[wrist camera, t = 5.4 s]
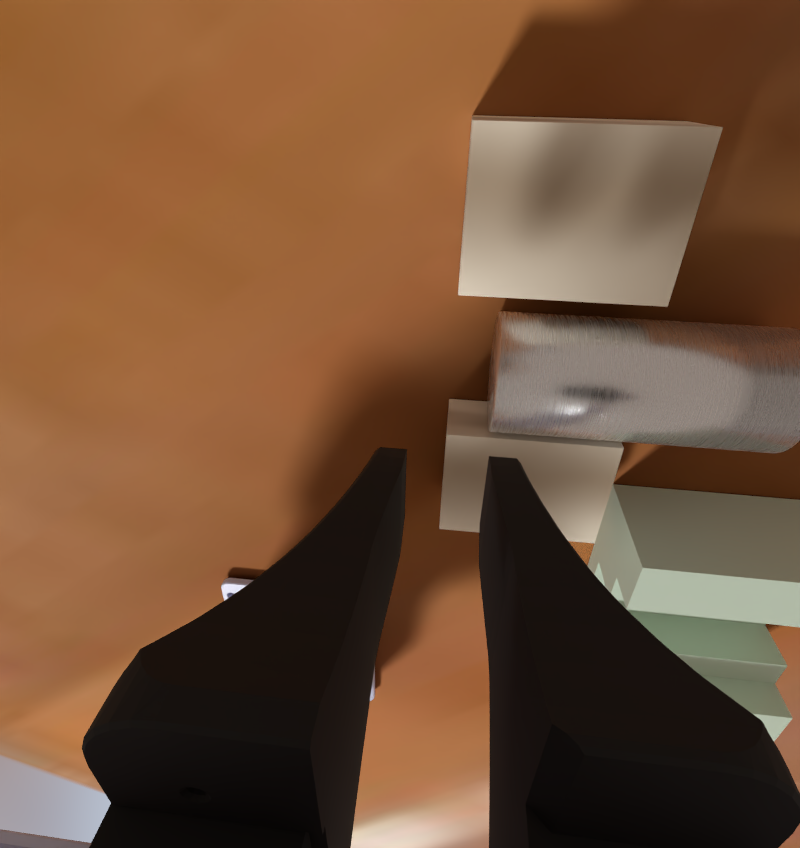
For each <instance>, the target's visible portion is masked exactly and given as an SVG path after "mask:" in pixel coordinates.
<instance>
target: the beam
mask: <svg viewBox="0 0 800 848" xmlns="http://www.w3.org/2000/svg"><path fill="white" fill-rule="evenodd" d="M722 129H723V127H719V126H713V125H707V124H701V123H695V122H689V121H664V120H628V119H592V118H555V117H519V116H483V115H472V123H471V135H470V147H469V160H468V172H467V184H466V197H465V209H464V221H463V234H462V246H461V259H460V271H459V289H458V295H465V296H483V297H501V298H519V299H537V300H555V301H573V302H591V303H608V304H626V305H644V306H662V307H668V304H669V301H670V298H671V294H672V291H673V288H674V285H675V281H676V278H677V275H678V272H679V268H680V265H681V262H682V259H683V256H684V252H685V249H686V246H687V243H688V239H689V236H690V233H691V230H692V226H693V223H694V220H695V217H696V213H697V210H698V207H699V204H700V200H701V197H702V194H703V191H704V187H705V184H706V181H707V178H708V175H709V171H710V168H711V165H712V162H713V158H714V155H715V152H716V149H717V145H718V142H719V139H720V136H721V132H722ZM623 450H624V447H623V445H622V443H621V442H618V441H605V440H592V439H579V438H565V437H552V436H539V435H526V434H513V433H500V432H489V431H488V426H487V401H474V400H460V399H449V407H448V419H447V432H446V444H445V456H444V469H443V481H442V494H441V509H440V523H439V529H446V530H457V531H468V532H478V533H479V529H480V517H481V510H482V503H483V495H484V488H485V481H486V474H487V467H488V459H489V456H494V457H507V458H517V459H518V460H519V462H520V463H521V465H522V467H523V469H524V471H525V473H526V475H527V477H528V478H529V480H530V482H531V484H532V486H533V488H534V489H535V491H536V493H537V494H538V496H539V498H540V500H541V501H542V503H543V504H544V506H545V508H546V509H547V511H548V512H549V514H550V515H551V517H552V518H553V520H554V521H555V523H556V524H557V526H558V528H559V529H560V530H561V532H562V533H563V535H564V536H565V538H566V539H567V540H568V541H575V542H586V543H595V541H596V537H597V534H598V531H599V528H600V524H601V521H602V518H603V515H604V512H605V508H606V505H607V502H608V499H609V495H610V492H611V489H612V486H613V482H614V479H615V476H616V473H617V469H618V466H619V463H620V460H621V456H622V453H623Z"/></svg>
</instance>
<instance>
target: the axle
mask: <svg viewBox="0 0 800 848" xmlns="http://www.w3.org/2000/svg"><path fill="white" fill-rule="evenodd" d="M487 426H488V431H489V432H500V433H513V434H526V435H539V436H552V437H565V438H579V439H592V440H605V441H618V442H631V443H644V444H657V445H670V446H684V447H697V448H710V449H723V450H736V451H749V452H762V453H781V452H784V451H786V450H788V449H790V448H792V447H793V446H794V445H796V444H797V443H798V442H799V441H800V330H799V329H796V328H787V327H769V326H752V325H734V324H717V323H699V322H682V321H664V320H646V319H629V318H611V317H594V316H576V315H559V314H541V313H524V312H506V311H499V312H498V314H497V318H496V322H495V328H494V335H493V343H492V351H491V360H490V368H489V380H488V397H487Z"/></svg>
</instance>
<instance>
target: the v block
mask: <svg viewBox="0 0 800 848" xmlns="http://www.w3.org/2000/svg"><path fill="white" fill-rule="evenodd" d="M588 568H589V569H590V570H591V571H592V572H593V574H594V575H595V576H596V577H597V578H598V579H599V580H600V582H601V583H602V584H603V585H604V586H605V587H606V588H607V589H608V591H609V592H610V593H611V594H612V595H613V596H614V597H615V598H616V599H617V600H618V601H619V602H620V603H621V604H622V605H623V606H624V608H625V609H627V610H628V611H629V612H630V613H631V614H632V615H633V616H634V617H635V618H636V619H637V620H638V621H639V622H640V623H641V624H642V625H643V626H644V627H646V628H647V629H648V630H649V631H650V632H651V633H652V634H653V635H654V636H655V637H656V638H657V639H658V640H659V641H661V642H662V643H663V644H664V645H665V646H666V647H667V648H669V649H670V650H671V651H672V652H673V653H675V654H676V655H677V656H678V657H679V658H681V659H682V660H683V661H684V662H685V663H687V664H688V665H689V666H690V667H691V668H693V669H694V670H695V671H696V672H697V673H699V674H700V675H701V676H702V677H704V678H705V679H706V680H708V681H709V682H710V683H712V684H713V685H714V686H716V687H717V688H718V689H720V690H721V691H722V692H724V693H725V694H726V695H728V696H729V697H731V698H732V699H733V700H735V701H736V702H737V703H739V704H740V705H741V706H743V707H744V708H745V709H747V710H748V711H749V712H751V713H752V714H753V715H755V716H756V717H757V718H759V719H760V720H762V722H763V723H764V725H765V727H766V729H767V731H768V733H769V735H770V736H771V738H772V740H773V741H775V740H776V738H777V737H778V736H779V735H780V733H781V732H782V731H783V730H784V728H785V727H786V726H787V725H788V723H789V722H790V721H791V720H792V716H791V714H790V712H789V710H788V708H787V706H786V704H785V702H784V700H783V698H782V697H781V695H780V693H779V691H778V689H777V687H776V685H775V683H776V681H777V680H778V678H779V677H780V676H781V674H782V673H783V671H784V670H785V669H786V667H787V664H786V662H785V660H784V659H783V657H782V655H781V653H780V651H779V649H778V648H777V646H776V644H775V642H774V640H773V638H772V637H771V635H770V633H769V631H768V629H767V627H766V626H765V625H766V624H773V625H783V626H793V627H800V500H796V499H784V498H772V497H760V496H748V495H736V494H724V493H712V492H700V491H688V490H676V489H664V488H652V487H640V486H628V485H616V484H613V486H612V489H611V492H610V495H609V499H608V502H607V505H606V508H605V512H604V515H603V518H602V521H601V524H600V528H599V531H598V534H597V537H596V541H595V544H594V547H593V550H592V553H591V557H590V560H589V563H588Z"/></svg>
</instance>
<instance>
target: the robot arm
mask: <svg viewBox="0 0 800 848" xmlns="http://www.w3.org/2000/svg"><path fill="white" fill-rule="evenodd" d="M406 459H407V449H395V448H383V447H380V448H379V449H377V450H376V451H375V452H374V454H373V456H372V457H371V459H370V460H369V462H368V464H367V465H366V466H365V468H364V469H363V471H362V472H361V473H360V475H359V476H358V478H357V479H356V480H355V482H354V483H353V484H352V485H351V487H350V488H349V489H348V490H347V492H346V493H345V494H344V495H343V496H342V498H341V499H340V500H339V501H338V503H337V504H336V505H335V506H334V507H333V508H332V509H331V510H330V511H329V513H328V514H327V515H326V516H325V517H324V518H323V519H322V520H321V521H320V522H319V523H318V524H317V525H316V526H315V528H314V529H313V530H312V531H311V532H310V533H309V534H308V535H306V536H305V537H304V538H303V539H302V540H301V541H300V542H299V543H298V544H297V545H296V546H295V547H294V548H293V549H291V550H290V551H289V552H288V553H287V554H286V555H285V556H283V557H282V558H281V559H280V560H279V561H277V562H276V563H275V564H274V565H272V566H271V567H270V568H269V569H268V570H266V571H265V572H264V573H263V574H261V575H260V576H259V577H257V578H256V579H255V580H249V579H239V578H226V579H225V580H224V581H223V583H222V585H221V589H222V593H223V597H224V601H223V602H222V603H220V604H219V605H217V606H216V607H214V608H213V609H211V610H210V611H208V612H206V613H205V614H203V615H202V616H200V617H198V618H197V619H195V620H193V621H191V622H190V623H188V624H186V625H184V626H182V627H181V628H179V629H177V630H175V631H173V632H171V633H170V634H168V635H166V636H164V637H162V638H160V639H159V640H157V641H155V642H153V643H151V644H149V645H147V646H145V647H143V648H141V649H140V650H139V652H138V653H137V655H136V656H135V658H134V659H133V661H132V662H131V663H130V664H129V666H128V667H127V668H126V670H125V671H124V672H123V674H122V675H121V677H120V678H119V680H118V681H117V683H116V684H115V686H114V687H113V689H112V691H111V692H110V694H109V696H108V697H107V699H106V701H105V702H104V704H103V706H102V708H101V709H100V711H99V713H98V714H97V716H96V718H95V719H94V721H93V723H92V724H91V726H90V728H89V730H88V731H87V733H86V735H85V736H84V740H83V745H82V750H83V754H84V757H85V759H86V762H87V764H88V767H89V768H90V770H91V771H92V773H93V775H94V776H95V778H96V779H97V781H98V783H99V784H100V786H101V787H102V789H103V791H104V792H105V794H106V795H107V797H108V799H109V800H110V802H111V805H110V807H109V809H108V811H107V813H106V815H105V817H104V819H103V821H102V823H101V825H100V827H99V829H98V831H97V833H96V835H95V837H94V839H93V841H92V843H87V842H80V841H73V840H67V839H59V838H53V837H47V836H40V835H34V834H26V833H20V832H14V831H7V830H0V848H350V846H351V838H352V830H353V822H354V814H355V807H356V799H357V791H358V784H359V776H360V768H361V761H362V753H363V746H364V739H365V731H366V724H367V717H368V709H369V702H370V701H371V700H373V699H374V697H375V661H376V656H377V651H378V646H379V641H380V637H381V633H382V629H383V624H384V620H385V616H386V612H387V608H388V604H389V599H390V595H391V591H392V587H393V583H394V579H395V574H396V570H397V566H398V562H399V557H400V550H401V543H402V535H403V526H404V518H405V490H406ZM479 569H480V579H481V589H482V599H483V609H484V619H485V628H486V638H487V648H488V660H489V678H490V810H489V848H778V847H779V846H780V845H781V844H782V843H783V842H784V841H785V840H786V839H787V838H789V837H790V836H791V835H792V834H793V832H794V831H795V829H796V828H797V826H798V825H799V823H800V793H799V791H798V789H797V787H796V784H795V782H794V780H793V778H792V776H791V774H790V771H789V769H788V767H787V765H786V763H785V761H784V759H783V757H782V755H781V753H780V751H779V750H778V748H777V746H776V745H775V743H774V741H773V740H772V738H771V736H770V735H769V733H768V731H767V729H766V727H765V725H764V723H763V722H762V720H760V719H759V718H757V717H756V716H755V715H753V714H752V713H751V712H749V711H748V710H747V709H745V708H744V707H743V706H741V705H740V704H739V703H737V702H736V701H735V700H733V699H732V698H731V697H729V696H728V695H726V694H725V693H724V692H722V691H721V690H720V689H718V688H717V687H716V686H714V685H713V684H712V683H710V682H709V681H708V680H706V679H705V678H704V677H702V676H701V675H700V674H699V673H697V672H696V671H695V670H694V669H693V668H691V667H690V666H689V665H688V664H687V663H685V662H684V661H683V660H682V659H681V658H679V657H678V656H677V655H676V654H675V653H673V652H672V651H671V650H670V649H669V648H667V647H666V646H665V645H664V644H663V643H662V642H661V641H659V640H658V639H657V638H656V637H655V636H654V635H653V634H652V633H651V632H650V631H649V630H648V629H647V628H646V627H644V626H643V625H642V624H641V623H640V622H639V621H638V620H637V619H636V618H635V617H634V616H633V615H632V614H631V613H630V612H629V611H628V610H627V609H625V608H624V606H623V605H622V604H621V603H620V602H619V601H618V600H617V599H616V598H615V597H614V596H613V595H612V594H611V593H610V592H609V591H608V589H607V588H606V587H605V586H604V585H603V584H602V583H601V582H600V580H599V579H598V578H597V577H596V576H595V575H594V574H593V572H592V571H591V570H590V569H589V568H588V566H587V565H586V564H585V563H584V561H583V560H582V559H581V558H580V556H579V555H578V554H577V552H576V551H575V550H574V548H573V547H572V546H571V544H570V543H569V542H568V540H567V539H566V538H565V536H564V535H563V533H562V532H561V530H560V529H559V528H558V526H557V524H556V523H555V521H554V520H553V518H552V517H551V515H550V514H549V512H548V511H547V509H546V508H545V506H544V504H543V503H542V501H541V500H540V498H539V496H538V494H537V493H536V491H535V489H534V488H533V486H532V484H531V482H530V480H529V478H528V477H527V475H526V473H525V471H524V469H523V467H522V465H521V463H520V462H519V460H518V459H517V458H507V457H494V456H489V459H488V467H487V474H486V481H485V488H484V495H483V503H482V510H481V517H480V529H479Z"/></svg>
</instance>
